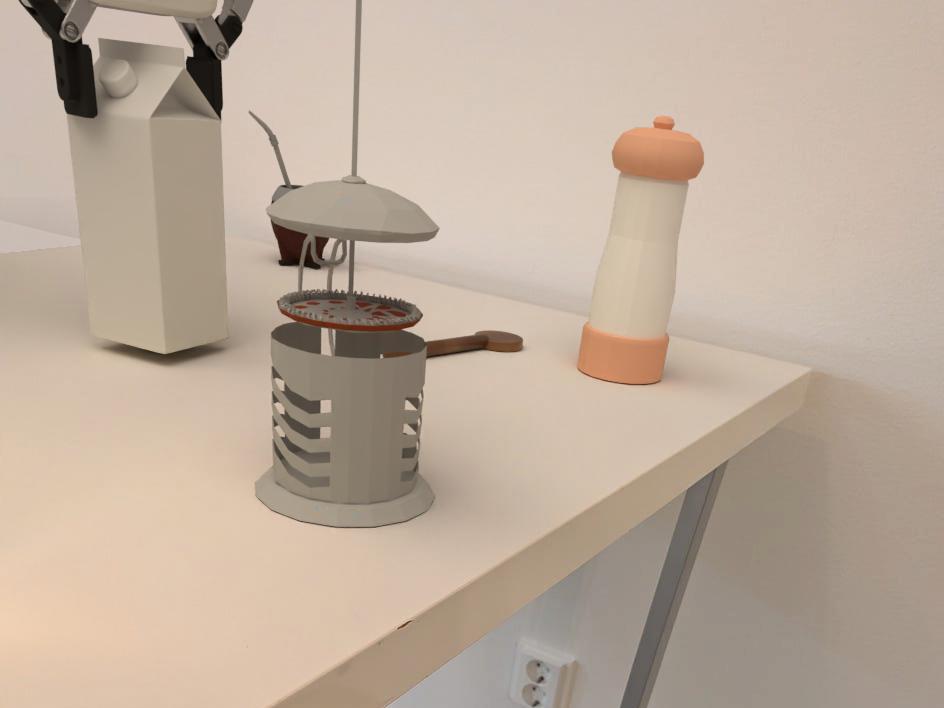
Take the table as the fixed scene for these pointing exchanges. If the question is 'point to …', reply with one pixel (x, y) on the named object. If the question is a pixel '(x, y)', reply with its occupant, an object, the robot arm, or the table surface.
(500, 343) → the wooden spoon
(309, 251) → the mate gourd
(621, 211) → the pepper shaker
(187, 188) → the milk carton
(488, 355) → the table surface
